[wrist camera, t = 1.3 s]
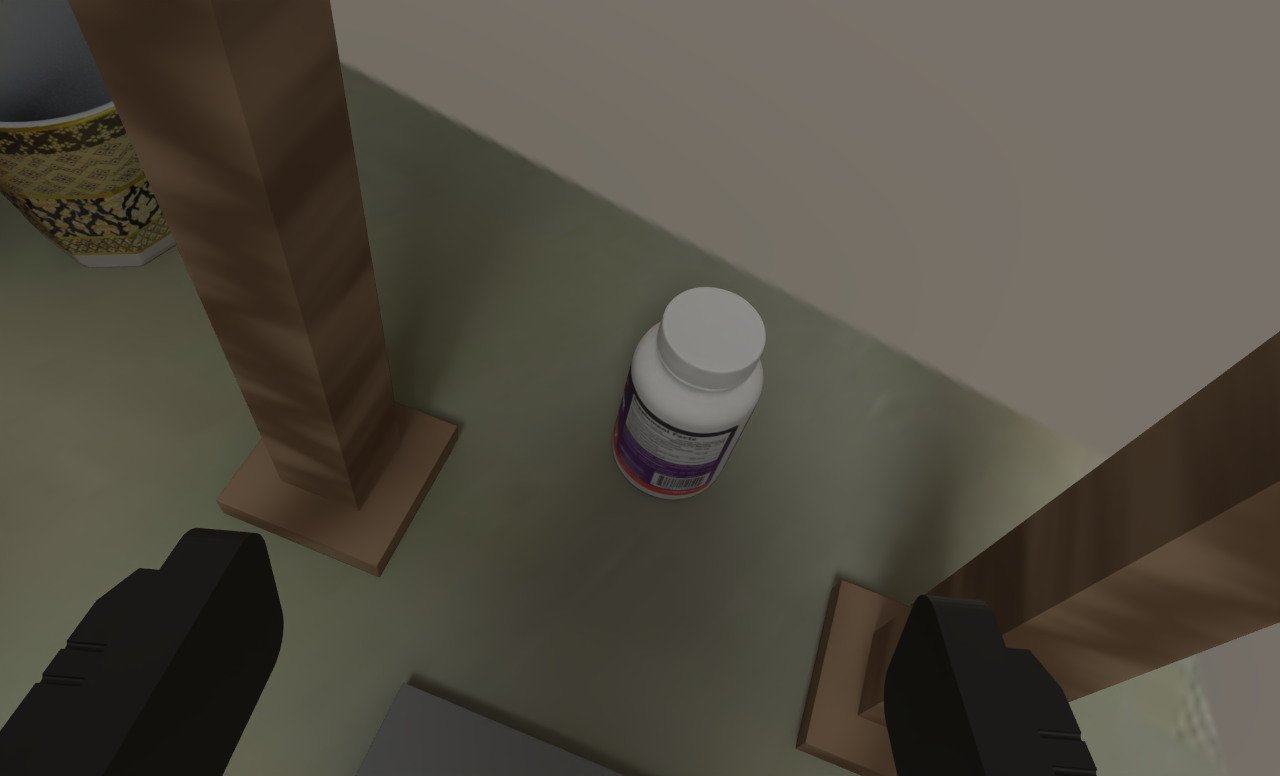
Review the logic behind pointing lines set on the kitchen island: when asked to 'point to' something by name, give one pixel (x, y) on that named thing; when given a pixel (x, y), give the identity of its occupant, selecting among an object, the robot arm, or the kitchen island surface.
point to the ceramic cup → (70, 143)
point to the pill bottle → (689, 393)
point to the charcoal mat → (461, 744)
